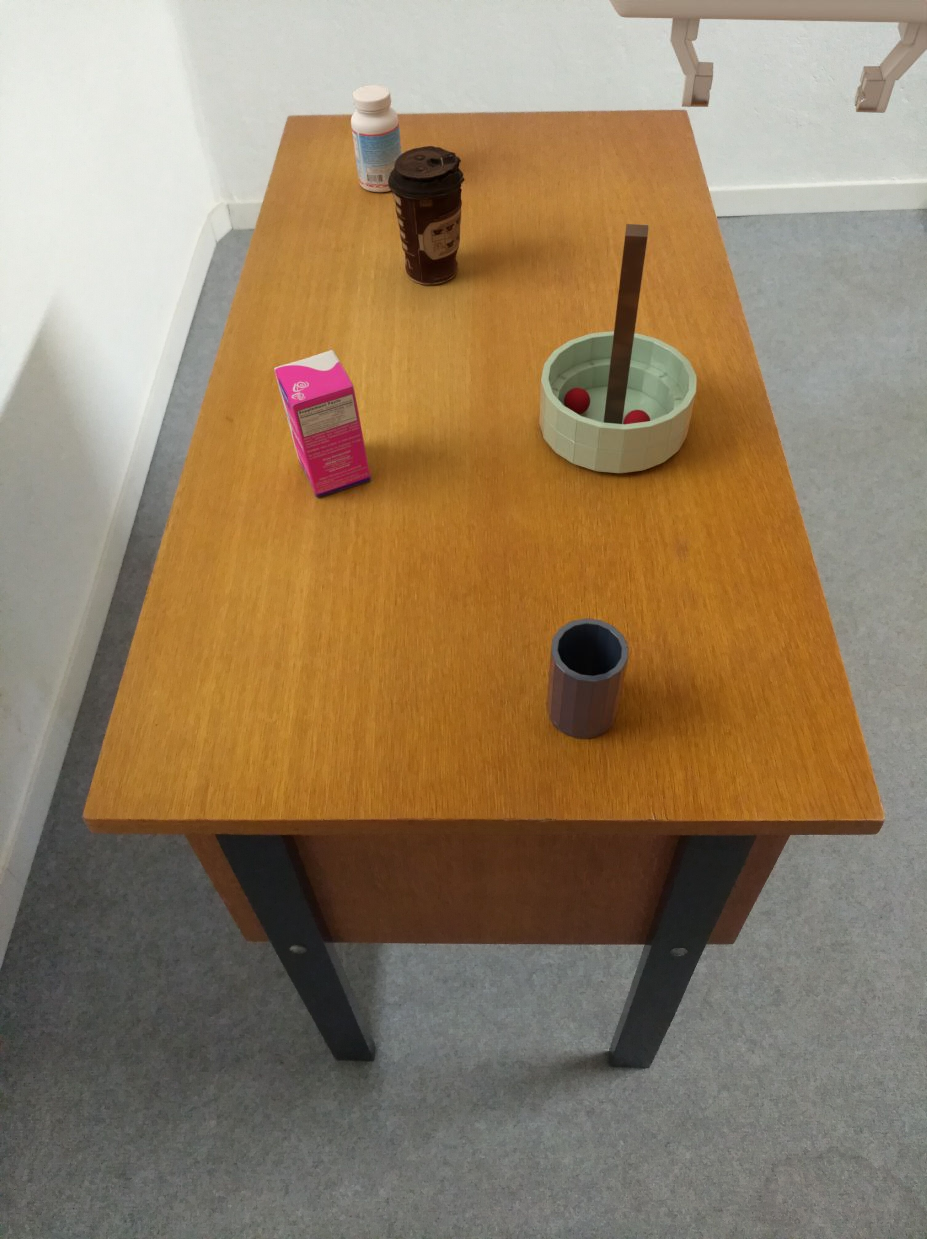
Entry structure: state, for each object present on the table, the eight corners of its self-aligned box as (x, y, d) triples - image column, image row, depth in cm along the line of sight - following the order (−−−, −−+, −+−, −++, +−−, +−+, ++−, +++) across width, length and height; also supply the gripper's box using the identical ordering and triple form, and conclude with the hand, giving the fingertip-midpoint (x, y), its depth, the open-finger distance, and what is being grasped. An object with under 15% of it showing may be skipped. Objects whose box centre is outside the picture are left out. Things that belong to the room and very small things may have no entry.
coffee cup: (483, 264, 107) (480, 153, 97) (445, 299, 103) (438, 187, 93) (422, 245, 110) (414, 135, 100) (383, 278, 106) (370, 168, 96)
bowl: (687, 386, 92) (697, 337, 87) (684, 484, 84) (695, 435, 79) (548, 375, 94) (551, 326, 89) (531, 470, 85) (533, 421, 81)
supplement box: (296, 462, 87) (272, 365, 78) (353, 444, 88) (336, 346, 79) (314, 500, 84) (291, 403, 75) (373, 481, 85) (357, 384, 76)
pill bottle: (413, 179, 120) (406, 89, 111) (383, 198, 117) (373, 108, 108) (379, 167, 122) (369, 77, 113) (349, 185, 119) (337, 95, 111)
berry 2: (648, 441, 87) (658, 415, 86) (639, 440, 85) (649, 414, 84) (624, 431, 88) (634, 406, 87) (615, 431, 86) (625, 405, 85)
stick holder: (619, 683, 71) (630, 623, 64) (614, 743, 67) (625, 685, 61) (551, 675, 71) (555, 614, 65) (543, 733, 68) (547, 675, 62)
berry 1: (554, 403, 89) (569, 410, 91) (570, 415, 87) (585, 422, 89) (568, 380, 88) (583, 387, 90) (585, 392, 86) (600, 399, 88)
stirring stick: (622, 417, 89) (648, 224, 73) (621, 429, 88) (647, 236, 72) (604, 415, 89) (626, 223, 73) (602, 427, 88) (625, 235, 72)
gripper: (611, -210, 39) (589, 125, 50) (1125, -219, 36) (981, 138, 47) (621, -242, 42) (598, 76, 53) (1087, -252, 39) (962, 86, 50)
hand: (780, 105), depth 50 cm, fingers open, 8 cm apart
